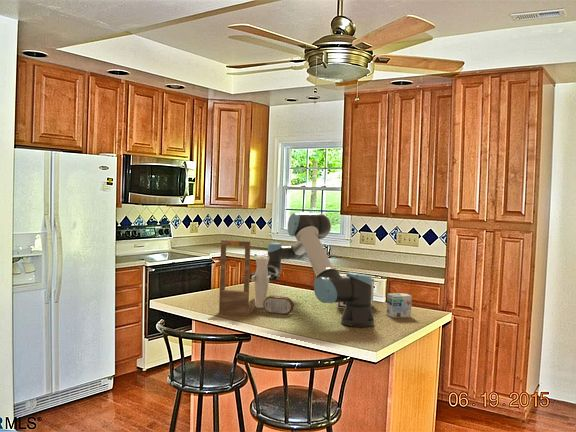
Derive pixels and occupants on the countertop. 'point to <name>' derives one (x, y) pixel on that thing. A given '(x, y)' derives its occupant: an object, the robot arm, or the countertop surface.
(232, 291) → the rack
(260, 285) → the skyscraper
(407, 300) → the light bulb box
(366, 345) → the countertop surface
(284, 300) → the tin
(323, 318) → the countertop surface
